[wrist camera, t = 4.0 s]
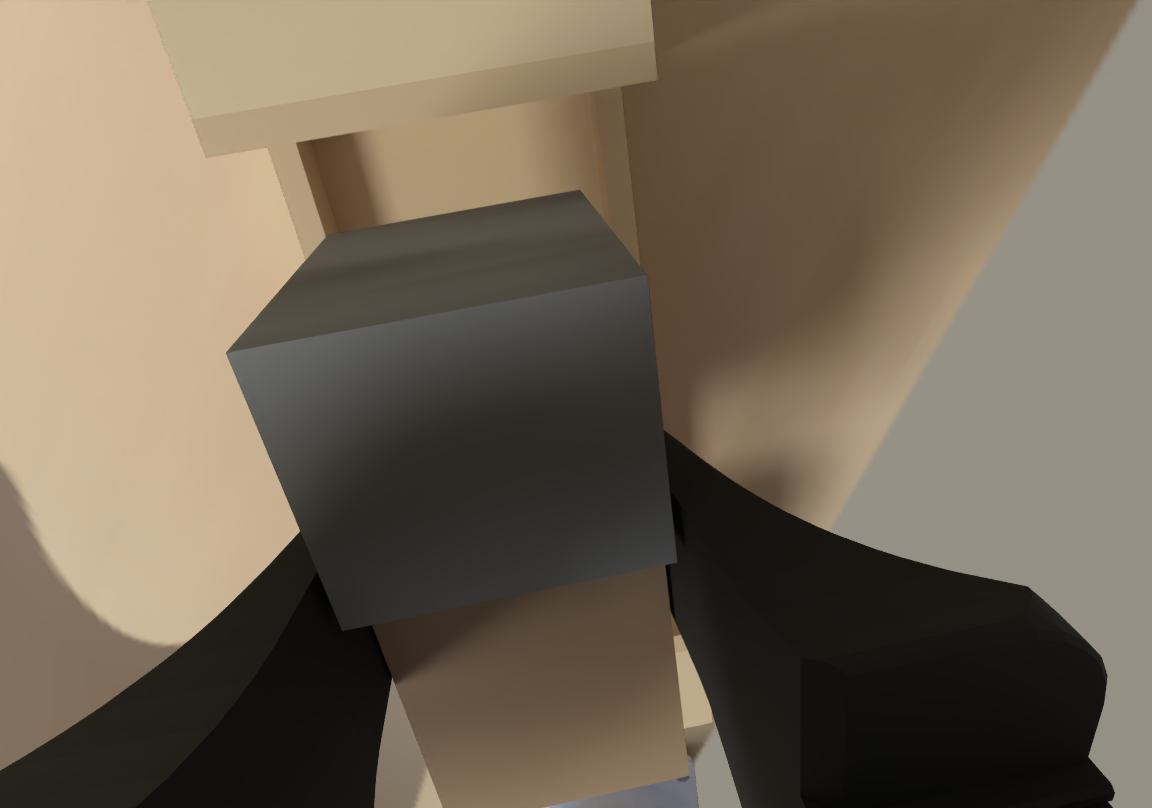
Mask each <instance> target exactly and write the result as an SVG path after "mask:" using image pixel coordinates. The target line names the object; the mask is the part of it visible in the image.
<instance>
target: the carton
mask: <svg viewBox="0 0 1152 808" xmlns="http://www.w3.org/2000/svg"><path fill="white" fill-rule="evenodd" d="M146 1H147V4H148V6H149V9H150V12H151V14H152V17H153V20H154V22H155V25H156V28H157V30H158V33H159V35H160V38H161V41H162V43H163V46H164V49H165V51H166V54H167V57H168V59H169V62H170V64H171V67H172V70H173V72H174V75H175V78H176V80H177V83H178V86H179V88H180V91H181V93H182V96H183V99H184V101H185V104H186V107H187V109H188V112H189V115H190V117H191V120H192V122H193V125H194V128H195V130H196V133H197V136H198V138H199V141H200V143H201V146H202V149H203V151H204V154H205V157H206V158H209V157H215V156H221V155H226V154H232V153H238V152H244V151H250V150H256V149H261V148H267V147H268V150H269V153H270V156H271V159H272V162H273V165H274V168H275V171H276V174H277V177H278V180H279V183H280V186H281V189H282V192H283V195H284V198H285V201H286V204H287V207H288V210H289V213H290V215H291V218H292V221H293V224H294V227H295V230H296V233H297V236H298V239H299V242H300V245H301V248H302V251H303V254H304V257H305V260H306V259H307V258H308V257H309V256H310V255H311V254H312V252H313V251H314V250H315V249H316V248H317V247H318V245H319V244H320V243H321V242H322V241H323V240H324V239H325V237H326V236H327V235H328V234H333V233H339V232H345V231H350V230H356V229H361V228H367V227H373V226H378V225H384V224H389V223H395V222H401V221H406V220H412V219H417V218H423V217H429V216H434V215H440V214H445V213H451V212H457V211H462V210H468V209H473V208H479V207H485V206H490V205H496V204H501V203H507V202H513V201H518V200H524V199H529V198H535V197H541V196H546V195H552V194H557V193H563V192H569V191H574V190H581V191H582V193H583V194H584V195H585V197H586V198H587V199H588V200H589V202H590V203H591V204H592V205H593V207H594V208H595V209H596V210H597V212H598V213H599V214H600V216H601V217H602V218H603V219H604V221H605V222H606V223H607V224H608V226H609V227H610V228H611V230H612V231H613V232H614V233H615V235H616V236H617V237H618V238H619V240H620V241H621V242H622V243H623V245H624V246H625V247H626V249H627V250H628V251H629V252H630V254H631V255H632V256H633V257H634V259H635V260H636V261H637V263H638V264H639V265H640V266H641V264H640V255H639V246H638V236H637V227H636V218H635V209H634V199H633V190H632V181H631V172H630V162H629V153H628V144H627V135H626V125H625V116H624V107H623V98H622V88H621V87H622V86H627V85H633V84H639V83H645V82H651V81H656V80H657V68H656V56H655V45H654V33H653V21H652V10H651V0H146ZM671 620H672V629H673V637H674V646H675V655H676V663H677V672H678V681H679V689H680V698H681V707H682V715H683V724H684V728H689V727H694V726H698V725H703V724H708V723H712V712H711V707H710V704H709V701H708V699H707V696H706V693H705V691H704V688H703V686H702V683H701V680H700V678H699V676H698V673H697V671H696V669H695V666H694V664H693V662H692V660H691V657H690V655H689V653H688V650H687V648H686V646H685V643H684V641H683V639H682V637H681V634H680V632H679V630H678V627H677V625H676V623H675V620H674V618H673V616H672V614H671Z"/></svg>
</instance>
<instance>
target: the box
mask: <svg viewBox="0 0 1152 808" xmlns="http://www.w3.org/2000/svg"><path fill="white" fill-rule="evenodd" d="M226 354H227V357H228V359H229V361H230V364H231V366H232V369H233V371H234V373H235V376H236V378H237V381H238V383H239V385H240V388H241V390H242V393H243V395H244V397H245V400H246V402H247V405H248V407H249V409H250V412H251V414H252V416H253V419H254V421H255V424H256V426H257V428H258V431H259V433H260V436H261V438H262V440H263V443H264V445H265V448H266V450H267V452H268V455H269V457H270V459H271V462H272V464H273V467H274V469H275V471H276V474H277V476H278V479H279V481H280V483H281V486H282V488H283V491H284V493H285V495H286V498H287V500H288V503H289V505H290V507H291V510H292V512H293V514H294V517H295V519H296V522H297V524H298V526H299V529H300V531H301V534H302V536H303V538H304V541H305V543H306V546H307V548H308V550H309V553H310V555H311V558H312V560H313V562H314V565H315V567H316V569H317V572H318V574H319V577H320V579H321V581H322V584H323V586H324V589H325V591H326V593H327V596H328V598H329V601H330V603H331V605H332V608H333V610H334V613H335V615H336V617H337V620H338V622H339V624H340V627H341V629H342V631H345V630H350V629H355V628H360V627H365V626H370V625H372V626H373V629H374V632H375V634H376V637H377V639H378V642H379V644H380V647H381V650H382V652H383V655H384V657H385V660H386V662H387V665H388V668H389V670H390V673H391V675H392V678H393V680H394V683H395V685H396V688H397V690H398V693H399V696H400V698H401V701H402V704H403V706H404V708H405V711H406V714H407V716H408V719H409V721H410V724H411V727H412V729H413V732H414V734H415V737H416V740H417V742H418V745H419V747H420V750H421V752H422V755H423V758H424V760H425V763H426V765H427V768H428V770H429V773H430V776H431V778H432V781H433V783H434V786H435V788H436V791H437V794H438V796H439V799H440V801H441V804H442V806H443V808H545V807H549V806H554V805H558V804H563V803H568V802H572V801H577V800H581V799H586V798H590V797H595V796H599V795H604V794H609V793H613V792H618V791H622V790H627V789H631V788H636V787H641V786H645V785H650V784H654V783H659V782H663V781H668V780H673V779H677V778H682V777H686V776H689V768H688V759H687V750H686V742H685V733H684V724H683V715H682V707H681V698H680V689H679V681H678V672H677V663H676V655H675V646H674V637H673V629H672V620H671V611H670V603H669V594H668V585H667V577H666V568H665V565H668V564H673V563H677V555H676V545H675V536H674V526H673V517H672V507H671V498H670V488H669V478H668V469H667V459H666V450H665V440H664V431H663V421H662V411H661V402H660V392H659V383H658V373H657V364H656V354H655V344H654V335H653V325H652V316H651V306H650V297H649V287H648V277H647V274H646V273H645V271H644V270H643V269H642V268H641V266H640V265H639V264H638V263H637V261H636V260H635V259H634V257H633V256H632V255H631V254H630V252H629V251H628V250H627V249H626V247H625V246H624V245H623V243H622V242H621V241H620V240H619V238H618V237H617V236H616V235H615V233H614V232H613V231H612V230H611V228H610V227H609V226H608V224H607V223H606V222H605V221H604V219H603V218H602V217H601V216H600V214H599V213H598V212H597V210H596V209H595V208H594V207H593V205H592V204H591V203H590V202H589V200H588V199H587V198H586V197H585V195H584V194H583V193H582V191H581V190H574V191H569V192H563V193H557V194H552V195H546V196H541V197H535V198H529V199H524V200H518V201H513V202H507V203H501V204H496V205H490V206H485V207H479V208H473V209H468V210H462V211H457V212H451V213H445V214H440V215H434V216H429V217H423V218H417V219H412V220H406V221H401V222H395V223H389V224H384V225H378V226H373V227H367V228H361V229H356V230H350V231H345V232H339V233H333V234H328V235H327V236H326V237H325V239H324V240H323V241H322V242H321V243H320V244H319V245H318V247H317V248H316V249H315V250H314V251H313V252H312V254H311V255H310V256H309V257H308V258H307V259H306V261H305V262H304V263H303V264H302V265H301V266H300V268H299V269H298V270H297V271H296V272H295V273H294V274H293V276H292V277H291V278H290V279H289V280H288V281H287V283H286V284H285V285H284V286H283V287H282V288H281V290H280V291H279V292H278V293H277V294H276V295H275V296H274V298H273V299H272V300H271V301H270V302H269V303H268V305H267V306H266V307H265V308H264V309H263V310H262V312H261V313H260V314H259V315H258V316H257V317H256V319H255V320H254V321H253V322H252V323H251V324H250V325H249V327H248V328H247V329H246V330H245V331H244V332H243V334H242V335H241V336H240V337H239V338H238V339H237V341H236V342H235V343H234V344H233V345H232V346H231V348H230V349H229V350H228V351H227V352H226Z"/></svg>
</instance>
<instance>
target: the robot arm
mask: <svg viewBox="0 0 1152 808" xmlns="http://www.w3.org/2000/svg"><path fill="white" fill-rule="evenodd" d="M663 431H664V430H663ZM664 440H665V450H666V459H667V469H668V478H669V488H670V498H671V507H672V517H673V526H674V536H675V545H676V555H677V563H673V564H668V565H665V568H666V577H667V585H668V594H669V603H670V611H671V614H672V616H673V618H674V620H675V623H676V625H677V627H678V630H679V632H680V634H681V637H682V639H683V641H684V643H685V646H686V648H687V650H688V653H689V655H690V657H691V660H692V662H693V664H694V666H695V669H696V671H697V673H698V676H699V678H700V680H701V683H702V686H703V688H704V691H705V693H706V696H707V699H708V701H709V704H710V707H711V710H712V713H713V716H714V720H715V723H716V726H717V729H718V732H719V735H720V738H721V741H722V745H723V747H724V751H725V754H726V757H727V760H728V764H729V767H730V770H731V773H732V777H733V780H734V783H735V786H736V790H737V793H738V796H739V799H740V802H741V806H742V808H1113V807H1112V806H1111V805H1110V804H1109V803H1108V801H1112V800H1113V797H1114V794H1115V792H1114V789H1113V787H1112V785H1111V783H1110V781H1109V780H1108V779H1107V778H1106V777H1105V776H1104V775H1103V774H1102V772H1100V770H1099V769H1098V768H1097V767H1096V766H1095V764H1094V763H1093V762H1092V761H1091V760H1090V759H1089V757H1088V755H1089V752H1090V749H1091V746H1092V742H1093V739H1094V735H1095V732H1096V729H1097V726H1098V722H1099V719H1100V716H1101V712H1102V709H1103V705H1104V700H1105V692H1106V684H1107V673H1106V670H1105V666H1104V663H1103V660H1102V657H1101V656H1100V655H1099V654H1098V653H1097V652H1096V650H1094V648H1093V647H1092V646H1091V645H1090V644H1089V643H1088V642H1087V641H1086V640H1085V639H1084V638H1083V637H1082V636H1081V635H1080V634H1079V633H1078V632H1077V631H1076V630H1075V629H1074V628H1073V627H1072V626H1071V625H1070V624H1069V623H1067V621H1066V620H1065V619H1063V617H1062V616H1061V615H1059V613H1057V612H1056V611H1055V610H1054V609H1053V608H1052V607H1051V606H1049V605H1048V604H1047V603H1046V602H1045V601H1044V600H1043V599H1042V598H1041V597H1039V596H1038V595H1037V594H1036V593H1035V592H1033V591H1032V590H1031V589H1030V588H1029V587H1027V586H1022V585H1018V584H1012V583H1007V582H1003V581H998V580H993V579H988V578H983V577H978V576H974V575H969V574H964V573H959V572H954V571H950V570H946V569H942V568H938V567H934V566H931V565H927V564H923V563H920V562H916V561H912V560H909V559H905V558H901V557H899V556H895V555H892V554H889V553H886V552H883V551H880V550H876V549H873V548H871V547H868V546H865V545H863V544H860V543H857V542H855V541H852V540H849V539H847V538H844V537H841V536H838V535H836V534H834V533H831V532H829V531H826V530H824V529H821V528H819V527H817V526H815V525H813V524H811V523H808V522H806V521H804V520H802V519H800V518H798V517H796V516H794V515H791V514H789V513H787V512H785V511H783V510H781V509H780V508H778V507H776V506H774V505H772V504H770V503H768V502H767V501H765V500H763V499H762V498H760V497H758V496H756V495H755V494H753V493H751V492H750V491H748V490H746V489H744V488H743V487H741V486H740V485H738V484H737V483H735V482H734V481H732V480H731V479H729V478H728V477H726V476H725V475H723V474H722V473H721V472H719V471H718V470H716V469H715V468H713V467H712V466H711V465H709V464H708V463H706V462H705V461H704V460H702V459H701V458H700V457H699V456H697V455H696V454H695V453H693V452H692V451H691V450H689V449H688V448H687V447H685V446H684V445H683V444H682V443H680V442H679V441H678V440H677V439H675V438H674V437H673V436H671V435H670V434H669V433H667V432H666V431H664ZM391 681H392V675H391V673H390V670H389V668H388V665H387V662H386V660H385V657H384V655H383V652H382V650H381V647H380V644H379V642H378V639H377V637H376V634H375V632H374V629H373V626H372V625H370V626H365V627H360V628H355V629H350V630H345V631H342V629H341V627H340V624H339V622H338V620H337V617H336V615H335V613H334V610H333V608H332V605H331V603H330V601H329V598H328V596H327V593H326V591H325V589H324V586H323V584H322V581H321V579H320V577H319V574H318V572H317V569H316V567H315V565H314V562H313V560H312V558H311V555H310V553H309V550H308V548H307V546H306V543H305V541H304V538H303V536H302V534H301V531H300V532H299V533H298V534H297V535H296V536H295V538H294V539H293V540H292V541H291V542H290V543H289V544H288V545H287V546H286V547H285V548H284V549H283V551H282V552H281V553H280V554H279V555H278V556H277V557H276V558H275V559H274V560H273V561H272V562H271V564H270V565H269V566H268V567H267V568H266V569H265V570H264V571H263V572H262V573H261V574H260V575H259V576H258V577H257V578H256V579H255V580H254V581H253V582H252V583H251V584H250V585H249V586H248V587H247V588H246V589H245V590H243V591H242V592H241V593H240V594H239V595H238V596H237V597H236V598H235V599H234V600H233V601H232V602H231V603H230V604H229V605H228V606H227V607H226V608H225V609H224V610H223V611H222V612H221V613H220V614H219V615H218V616H217V617H215V618H214V619H213V620H212V621H211V622H210V623H209V624H208V625H206V626H205V627H204V628H203V629H202V630H201V631H200V632H198V633H197V634H196V635H195V636H194V637H192V638H191V639H190V640H189V641H188V642H186V643H185V644H184V645H183V646H182V647H180V648H179V649H178V650H177V651H176V652H174V653H173V654H172V655H171V656H169V657H168V658H167V659H166V660H164V661H163V662H162V663H161V664H159V665H158V666H157V667H155V668H154V669H152V670H151V671H150V672H148V673H147V674H146V675H144V676H143V677H142V678H140V679H139V680H138V681H136V682H135V683H133V684H132V685H131V686H129V687H128V688H127V689H125V690H124V691H122V692H121V693H120V694H119V695H117V696H116V697H115V698H113V699H112V700H110V701H109V702H107V703H106V704H105V705H103V706H102V707H100V708H99V709H97V710H96V711H94V712H93V713H91V714H90V715H88V716H87V717H85V718H84V719H82V720H81V721H79V722H78V723H76V724H75V725H73V726H72V727H70V728H69V729H67V730H66V731H64V732H63V733H61V734H60V735H58V736H56V737H55V738H53V739H52V740H50V741H48V742H47V743H45V744H44V745H42V746H40V747H39V748H37V749H36V750H34V751H32V752H31V753H29V754H27V755H26V756H24V757H22V758H21V759H19V760H18V761H16V762H14V763H12V764H11V765H9V766H7V767H6V768H4V769H2V770H1V771H0V808H374V798H375V784H376V773H377V772H376V771H377V765H378V757H379V749H380V743H381V738H382V732H383V726H384V720H385V714H386V709H387V703H388V698H389V692H390V686H391ZM687 759H688V768H689V776H686V777H682V778H677V779H673V780H668V781H663V782H659V783H654V784H650V785H645V786H641V787H636V788H631V789H627V790H622V791H618V792H613V793H609V794H604V795H599V796H595V797H590V798H586V799H581V800H577V801H572V802H568V803H563V804H558V805H554V806H549V807H545V808H699V806H698V797H697V788H696V780H695V770H694V764H693V761H692V758H691V756H689V755H688V754H687Z"/></svg>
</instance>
